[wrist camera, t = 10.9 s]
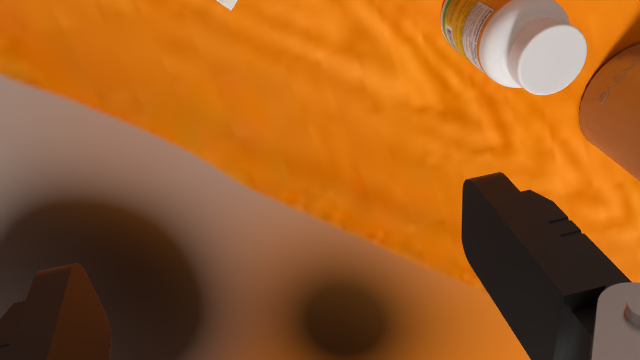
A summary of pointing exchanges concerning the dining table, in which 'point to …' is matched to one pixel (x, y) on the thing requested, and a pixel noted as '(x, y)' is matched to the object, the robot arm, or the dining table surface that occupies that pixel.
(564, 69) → the supplement bottle
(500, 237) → the robot arm
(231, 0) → the corner arena
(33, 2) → the dining table surface
